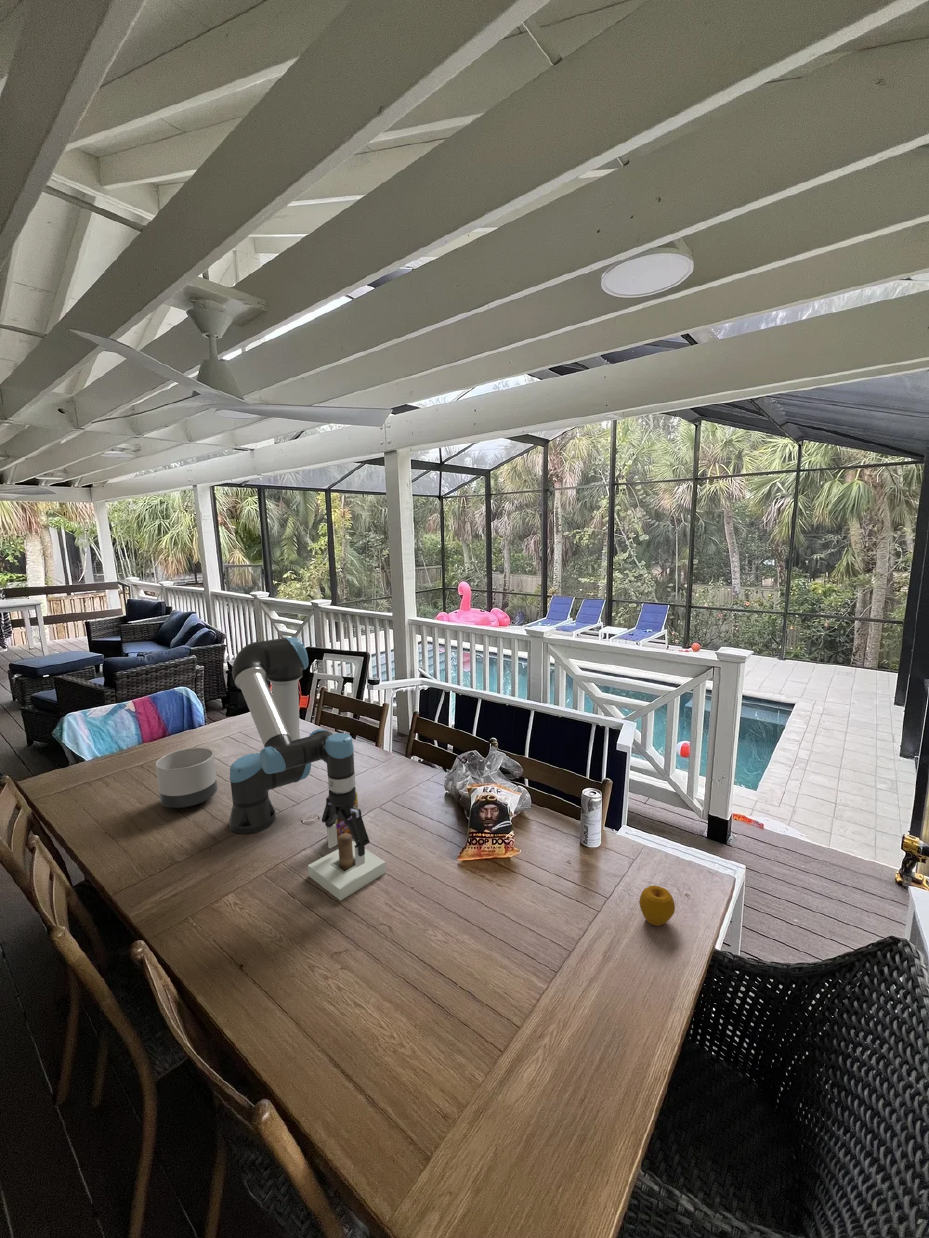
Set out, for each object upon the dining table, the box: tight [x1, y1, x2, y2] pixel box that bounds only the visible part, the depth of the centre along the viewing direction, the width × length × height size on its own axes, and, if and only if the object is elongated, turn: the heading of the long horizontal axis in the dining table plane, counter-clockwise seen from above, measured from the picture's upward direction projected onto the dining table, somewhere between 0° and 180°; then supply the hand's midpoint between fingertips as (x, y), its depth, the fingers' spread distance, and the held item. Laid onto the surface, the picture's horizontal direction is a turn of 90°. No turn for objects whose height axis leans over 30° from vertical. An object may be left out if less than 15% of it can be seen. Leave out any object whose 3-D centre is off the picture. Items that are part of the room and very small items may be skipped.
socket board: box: [307, 840, 387, 901], centre depth 156 cm, size 16×16×4 cm
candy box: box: [327, 791, 359, 843], centre depth 175 cm, size 9×4×15 cm, turn 123°
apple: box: [639, 885, 676, 927], centre depth 135 cm, size 8×8×9 cm
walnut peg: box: [337, 833, 354, 872], centre depth 156 cm, size 4×4×12 cm
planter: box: [155, 747, 218, 809], centre depth 199 cm, size 19×19×18 cm
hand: (346, 855), depth 156 cm, fingers open, 13 cm apart
